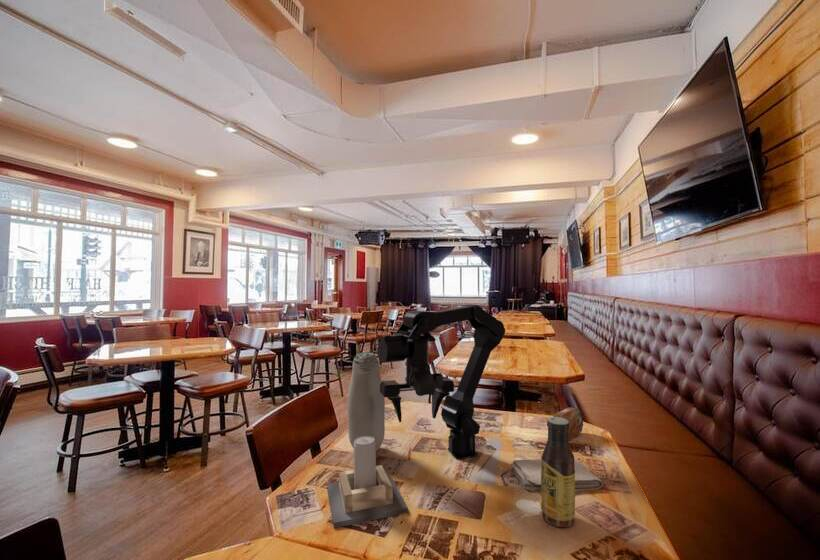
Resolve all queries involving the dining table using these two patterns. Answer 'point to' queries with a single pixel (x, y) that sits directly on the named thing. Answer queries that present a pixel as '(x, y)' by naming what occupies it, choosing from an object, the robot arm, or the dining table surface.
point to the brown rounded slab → (572, 421)
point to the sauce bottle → (558, 475)
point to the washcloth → (531, 475)
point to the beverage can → (364, 462)
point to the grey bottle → (366, 400)
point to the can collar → (364, 499)
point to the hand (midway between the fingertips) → (417, 419)
